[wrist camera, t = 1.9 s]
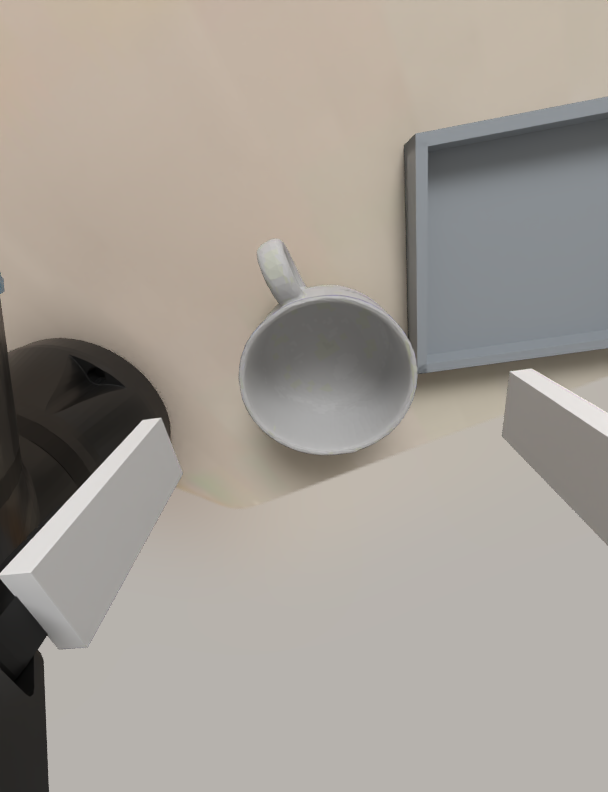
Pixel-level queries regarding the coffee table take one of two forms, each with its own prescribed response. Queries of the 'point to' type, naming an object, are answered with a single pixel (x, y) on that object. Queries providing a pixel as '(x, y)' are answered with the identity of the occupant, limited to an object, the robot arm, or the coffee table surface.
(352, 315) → the teacup
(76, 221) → the coffee table surface
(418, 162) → the tray
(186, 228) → the coffee table surface
